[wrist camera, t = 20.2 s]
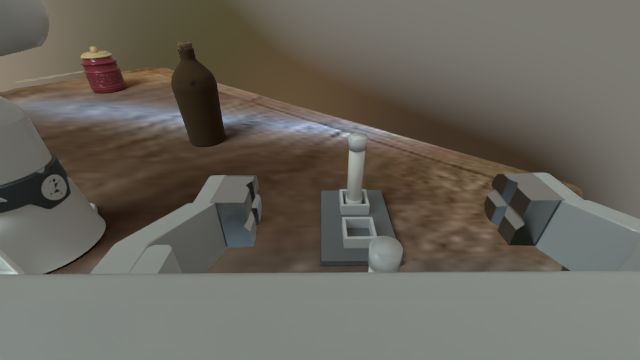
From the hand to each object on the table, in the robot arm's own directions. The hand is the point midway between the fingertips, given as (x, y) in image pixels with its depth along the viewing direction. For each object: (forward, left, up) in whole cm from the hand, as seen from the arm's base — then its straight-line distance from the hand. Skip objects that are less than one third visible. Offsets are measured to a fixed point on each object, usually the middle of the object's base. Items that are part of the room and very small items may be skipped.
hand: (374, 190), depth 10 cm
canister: (-96, +119, -28) cm, 156 cm away
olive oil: (-34, +65, -28) cm, 79 cm away
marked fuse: (+4, +10, -28) cm, 30 cm away
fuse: (+4, +33, -27) cm, 43 cm away
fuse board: (+4, +29, -28) cm, 41 cm away
